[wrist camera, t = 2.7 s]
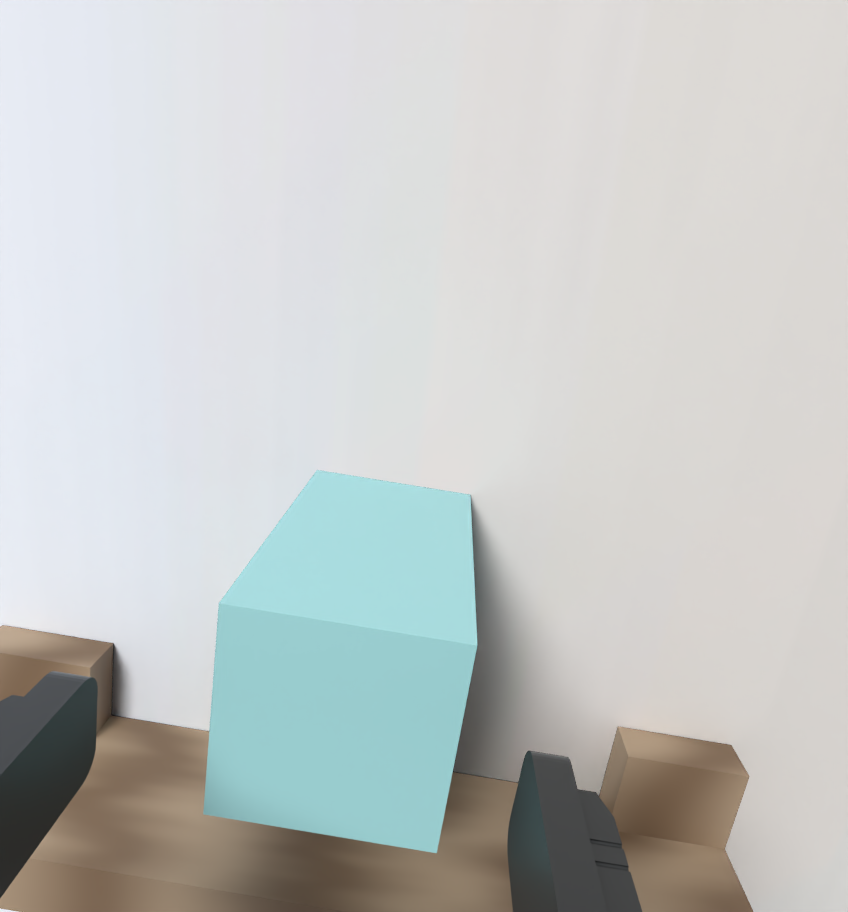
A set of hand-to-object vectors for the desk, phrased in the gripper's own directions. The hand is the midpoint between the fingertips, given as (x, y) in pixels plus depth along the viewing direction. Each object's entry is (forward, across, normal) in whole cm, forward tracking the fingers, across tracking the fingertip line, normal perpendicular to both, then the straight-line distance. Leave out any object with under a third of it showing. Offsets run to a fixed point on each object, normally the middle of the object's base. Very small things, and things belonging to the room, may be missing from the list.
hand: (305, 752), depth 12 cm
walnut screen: (+10, -1, +9) cm, 14 cm away
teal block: (+10, 0, 0) cm, 10 cm away
